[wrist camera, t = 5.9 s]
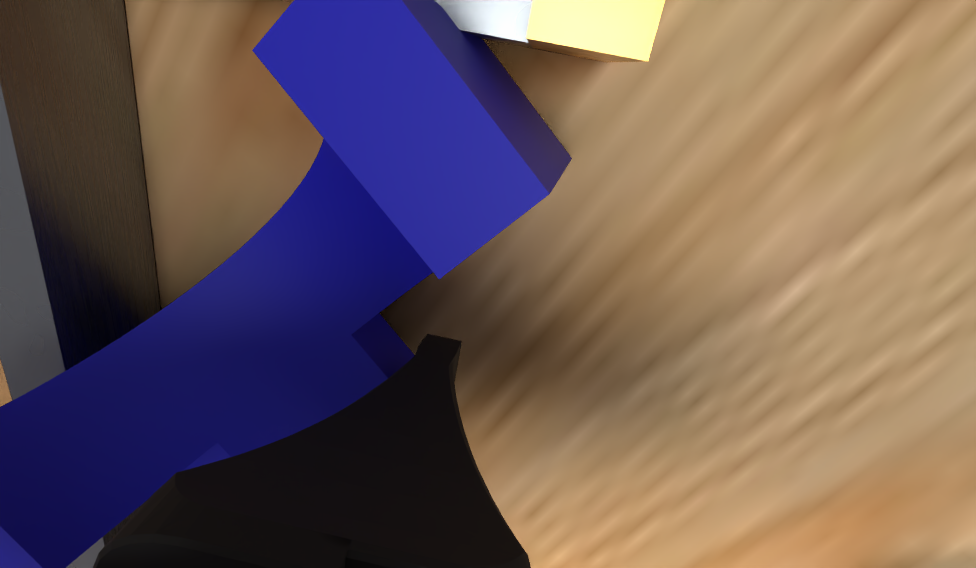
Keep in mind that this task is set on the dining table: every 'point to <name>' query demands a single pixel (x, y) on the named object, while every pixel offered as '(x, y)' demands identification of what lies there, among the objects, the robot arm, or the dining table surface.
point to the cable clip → (289, 274)
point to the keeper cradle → (120, 174)
